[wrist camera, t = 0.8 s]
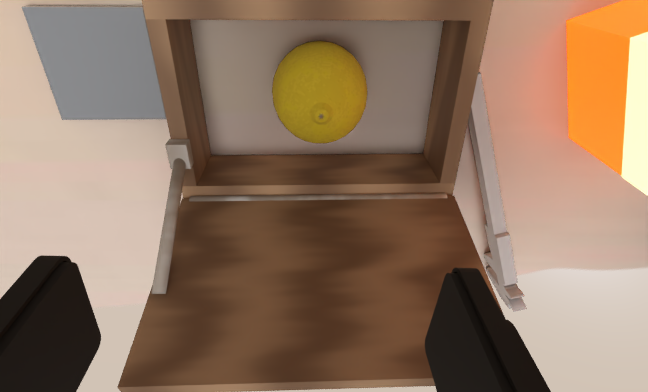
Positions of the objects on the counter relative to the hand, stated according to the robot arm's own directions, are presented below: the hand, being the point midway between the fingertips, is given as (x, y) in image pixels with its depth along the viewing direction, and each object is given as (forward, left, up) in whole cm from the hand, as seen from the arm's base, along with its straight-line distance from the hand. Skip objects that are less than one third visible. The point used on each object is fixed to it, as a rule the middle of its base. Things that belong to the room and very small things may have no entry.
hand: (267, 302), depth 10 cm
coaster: (+12, -1, -20) cm, 23 cm away
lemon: (-2, -1, -20) cm, 20 cm away
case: (-2, +2, -20) cm, 20 cm away
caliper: (-15, +8, -20) cm, 26 cm away
